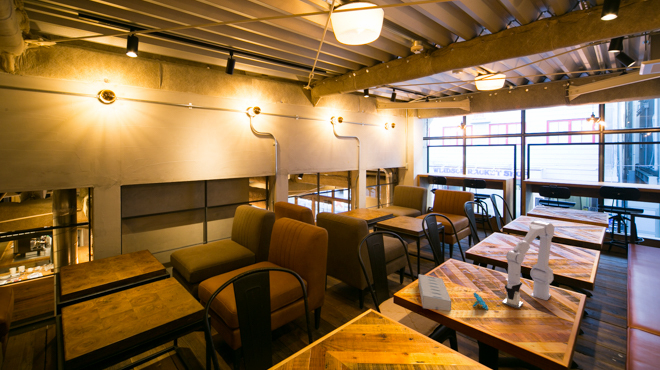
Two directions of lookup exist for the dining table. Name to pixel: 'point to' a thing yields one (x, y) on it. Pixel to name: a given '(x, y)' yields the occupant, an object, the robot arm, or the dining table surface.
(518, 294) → the square tube cup
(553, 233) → the robot arm
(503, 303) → the shaft block
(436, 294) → the warehouse
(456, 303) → the dining table surface
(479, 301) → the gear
